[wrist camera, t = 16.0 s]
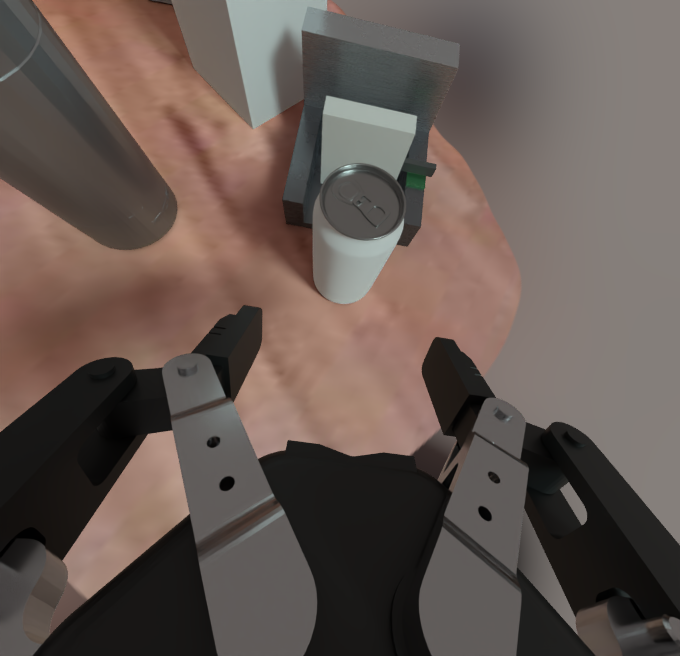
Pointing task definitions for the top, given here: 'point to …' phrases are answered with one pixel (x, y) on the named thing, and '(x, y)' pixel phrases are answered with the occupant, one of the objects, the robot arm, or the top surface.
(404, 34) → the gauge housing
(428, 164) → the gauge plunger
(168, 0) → the coffee box
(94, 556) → the top surface
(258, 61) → the milk
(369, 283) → the can
